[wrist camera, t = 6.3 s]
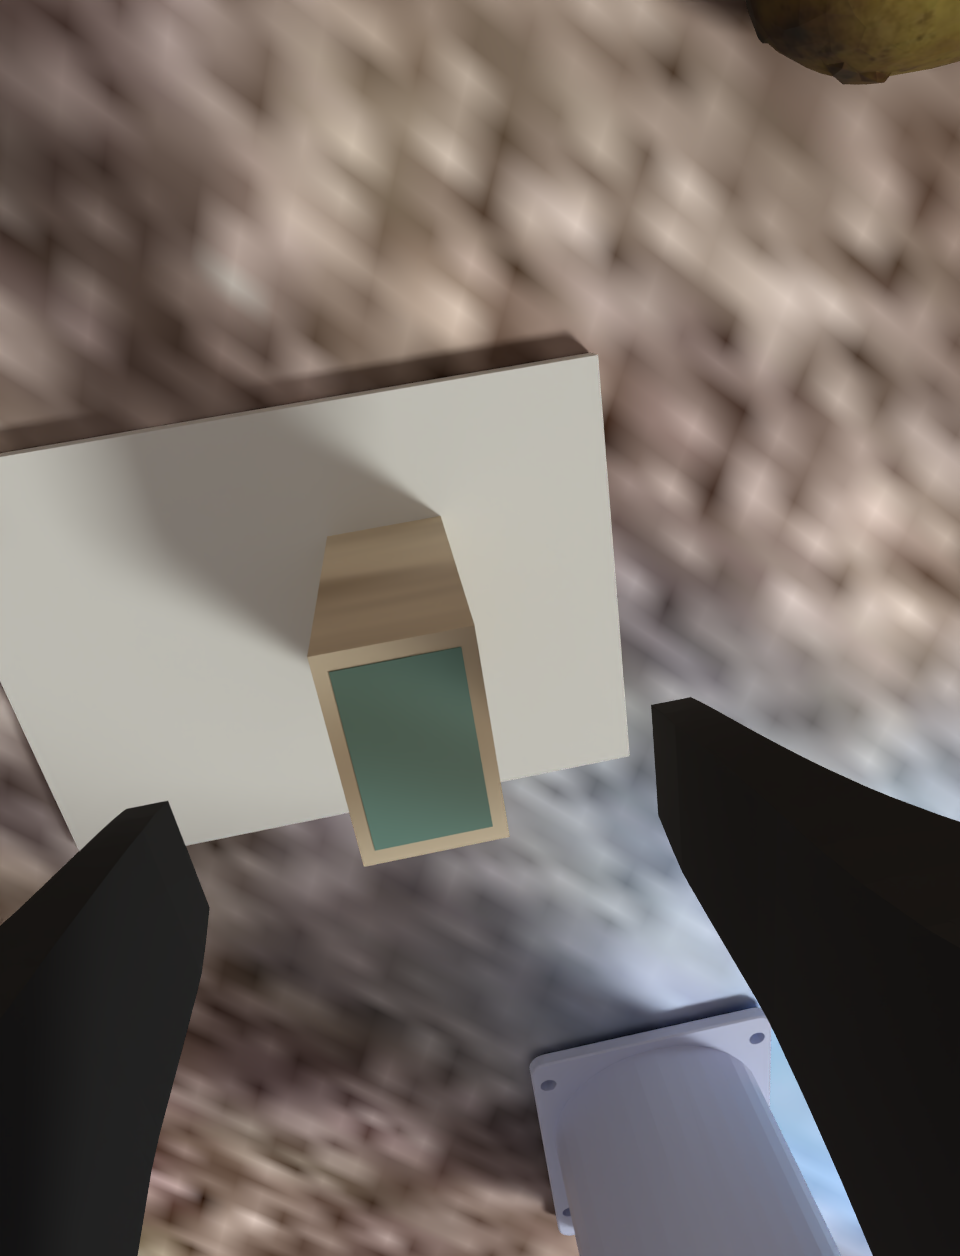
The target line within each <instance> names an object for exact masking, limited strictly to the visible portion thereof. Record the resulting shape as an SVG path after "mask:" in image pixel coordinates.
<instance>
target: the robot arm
mask: <svg viewBox="0 0 960 1256" xmlns="http://www.w3.org/2000/svg"><path fill="white" fill-rule="evenodd" d="M651 709H652V724H653V739H654V755H655V770H656V786H657V801H658V815H659V818H660V820H661V823H662V825H663V828H664V830H665V832H666V835H667V837H668V840H669V842H670V845H671V847H672V849H673V852H674V854H675V856H676V859H677V861H678V863H679V865H680V868H681V870H682V872H683V874H684V876H685V878H686V879H687V881H688V883H689V885H690V886H691V888H692V890H693V892H694V893H695V895H696V897H697V899H698V900H699V902H700V904H701V905H702V907H703V909H704V911H705V912H706V914H707V916H708V918H709V919H710V921H711V923H712V924H713V926H714V928H715V929H716V931H717V933H718V935H719V936H720V938H721V940H722V941H723V943H724V945H725V946H726V948H727V950H728V952H729V953H730V955H731V957H732V958H733V960H734V962H735V963H736V965H737V967H738V969H739V970H740V972H741V974H742V975H743V977H744V979H745V980H746V982H747V984H748V986H749V987H750V989H751V991H752V992H753V994H754V996H755V997H756V999H757V1001H758V1003H759V1005H760V1006H761V1008H762V1009H761V1008H749V1009H745V1010H740V1011H736V1012H731V1013H727V1014H722V1015H718V1016H714V1017H709V1018H705V1019H700V1020H696V1021H691V1022H687V1023H682V1024H678V1025H673V1026H669V1027H664V1028H660V1029H655V1030H651V1031H646V1032H642V1033H638V1034H633V1035H629V1036H624V1037H620V1038H615V1039H611V1040H606V1041H602V1042H597V1043H593V1044H588V1045H584V1046H579V1047H575V1048H570V1049H566V1050H561V1051H557V1052H553V1053H548V1054H544V1055H541V1056H538V1057H536V1058H535V1059H534V1060H533V1061H532V1062H531V1064H530V1068H529V1069H530V1074H531V1080H532V1086H533V1091H534V1097H535V1102H536V1108H537V1113H538V1119H539V1124H540V1130H541V1135H542V1141H543V1146H544V1152H545V1157H546V1163H547V1169H548V1174H549V1180H550V1185H551V1191H552V1196H553V1202H554V1207H555V1213H556V1218H557V1224H558V1229H559V1231H560V1232H561V1233H562V1234H564V1235H575V1237H576V1241H577V1246H578V1250H579V1255H580V1256H841V1254H840V1252H839V1250H838V1247H837V1245H836V1243H835V1241H834V1239H833V1237H832V1235H831V1233H830V1231H829V1229H828V1227H827V1225H826V1223H825V1221H824V1219H823V1217H822V1215H821V1213H820V1210H819V1208H818V1206H817V1204H816V1202H815V1200H814V1198H813V1196H812V1194H811V1192H810V1190H809V1188H808V1186H807V1184H806V1182H805V1180H804V1178H803V1176H802V1173H801V1171H800V1169H799V1167H798V1165H797V1163H796V1161H795V1159H794V1157H793V1155H792V1153H791V1151H790V1149H789V1147H788V1145H787V1143H786V1141H785V1139H784V1136H783V1134H782V1132H781V1130H780V1128H779V1126H778V1124H777V1122H776V1120H775V1118H774V1116H773V1114H772V1112H771V1110H770V1064H771V1027H772V1029H773V1031H774V1033H775V1035H776V1037H777V1039H778V1041H779V1044H780V1046H781V1048H782V1050H783V1052H784V1054H785V1057H786V1059H787V1061H788V1063H789V1065H790V1067H791V1070H792V1072H793V1074H794V1076H795V1078H796V1080H797V1082H798V1085H799V1087H800V1089H801V1091H802V1093H803V1095H804V1098H805V1100H806V1102H807V1104H808V1106H809V1109H810V1111H811V1113H812V1115H813V1118H814V1120H815V1122H816V1125H817V1127H818V1129H819V1131H820V1134H821V1136H822V1138H823V1140H824V1143H825V1145H826V1147H827V1149H828V1152H829V1154H830V1156H831V1158H832V1161H833V1163H834V1165H835V1167H836V1170H837V1172H838V1174H839V1176H840V1179H841V1181H842V1183H843V1186H844V1188H845V1190H846V1193H847V1195H848V1198H849V1200H850V1202H851V1205H852V1207H853V1209H854V1212H855V1214H856V1217H857V1219H858V1221H859V1224H860V1226H861V1228H862V1231H863V1233H864V1236H865V1238H866V1240H867V1243H868V1245H869V1247H870V1250H871V1252H872V1255H873V1256H960V822H959V821H956V820H953V819H950V818H947V817H944V816H941V815H938V814H935V813H933V812H930V811H927V810H925V809H922V808H919V807H917V806H914V805H911V804H908V803H906V802H903V801H900V800H898V799H895V798H892V797H890V796H887V795H885V794H883V793H880V792H878V791H875V790H873V789H870V788H868V787H866V786H863V785H861V784H859V783H857V782H855V781H852V780H850V779H848V778H846V777H844V776H841V775H839V774H837V773H835V772H833V771H830V770H828V769H826V768H824V767H822V766H820V765H818V764H816V763H814V762H812V761H810V760H808V759H806V758H804V757H802V756H800V755H798V754H796V753H794V752H792V751H790V750H788V749H786V748H784V747H782V746H780V745H778V744H777V743H775V742H773V741H771V740H769V739H767V738H765V737H764V736H762V735H760V734H758V733H756V732H754V731H752V730H751V729H749V728H747V727H745V726H743V725H742V724H740V723H738V722H736V721H734V720H733V719H731V718H729V717H727V716H725V715H724V714H722V713H720V712H718V711H716V710H715V709H713V708H711V707H709V706H707V705H705V704H703V703H701V702H700V701H697V700H695V699H693V698H691V697H690V698H685V699H680V700H675V701H669V702H664V703H659V704H654V705H651ZM208 916H209V905H208V903H207V900H206V897H205V895H204V892H203V890H202V887H201V885H200V882H199V879H198V877H197V874H196V872H195V869H194V866H193V864H192V861H191V859H190V856H189V853H188V851H187V848H186V846H185V843H184V841H183V838H182V835H181V833H180V830H179V828H178V825H177V822H176V820H175V817H174V815H173V812H172V809H171V807H170V804H169V802H168V801H163V802H158V803H153V804H148V805H143V806H138V807H133V808H128V809H125V810H124V811H123V812H121V813H120V814H119V815H118V816H117V817H115V818H114V819H113V820H112V821H111V822H110V823H109V824H107V825H106V826H105V827H104V828H103V829H102V830H101V831H100V832H99V833H98V834H97V835H96V836H95V837H94V838H92V839H91V840H90V841H89V842H88V843H87V844H86V845H85V846H84V847H83V848H82V849H81V850H80V851H79V852H78V853H77V854H76V855H75V856H74V857H73V858H72V859H71V860H70V861H69V862H68V863H67V864H66V865H64V866H63V867H62V868H61V869H60V870H59V871H58V872H57V873H56V874H55V875H54V876H53V877H52V878H51V879H50V880H49V881H48V882H47V883H46V884H45V885H44V886H43V887H42V888H40V889H39V890H38V891H37V892H36V893H35V894H34V895H33V896H32V897H31V898H30V899H29V900H28V901H27V902H26V903H25V904H24V905H23V906H22V907H21V908H20V909H18V910H17V911H16V912H15V913H14V914H13V915H12V916H11V917H10V918H9V919H7V920H6V921H5V922H4V923H3V924H2V925H1V926H0V1256H137V1255H138V1249H139V1243H140V1237H141V1231H142V1225H143V1218H144V1212H145V1206H146V1200H147V1194H148V1188H149V1182H150V1176H151V1170H152V1166H153V1161H154V1157H155V1152H156V1148H157V1143H158V1139H159V1134H160V1130H161V1127H162V1123H163V1119H164V1115H165V1112H166V1108H167V1104H168V1100H169V1097H170V1093H171V1089H172V1085H173V1082H174V1078H175V1074H176V1070H177V1067H178V1063H179V1059H180V1055H181V1052H182V1048H183V1044H184V1040H185V1037H186V1033H187V1029H188V1025H189V1021H190V1017H191V1013H192V1010H193V1006H194V1002H195V998H196V994H197V990H198V986H199V982H200V978H201V974H202V966H203V959H204V952H205V944H206V935H207V926H208Z"/></svg>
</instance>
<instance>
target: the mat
mask: <svg viewBox="0 0 960 1256" xmlns="http://www.w3.org/2000/svg"><path fill="white" fill-rule="evenodd" d="M438 516H441V519H442V522H443V525H444V528H445V531H446V535H447V538H448V541H449V544H450V548H451V551H452V554H453V557H454V561H455V564H456V567H457V570H458V573H459V577H460V580H461V583H462V586H463V590H464V593H465V596H466V599H467V602H468V606H469V609H470V612H471V615H472V619H473V622H474V625H475V631H476V637H477V643H478V649H479V655H480V661H481V667H482V673H483V679H484V685H485V691H486V697H487V703H488V709H489V715H490V721H491V727H492V733H493V740H494V746H495V752H496V758H497V764H498V770H499V776H500V782H504V781H509V780H513V779H518V778H523V777H528V776H533V775H538V774H543V773H548V772H553V771H558V770H563V769H568V768H573V767H578V766H583V765H588V764H593V763H598V762H603V761H607V760H612V759H617V758H622V757H627V756H630V755H629V743H628V730H627V717H626V705H625V692H624V679H623V667H622V654H621V641H620V628H619V616H618V603H617V590H616V578H615V565H614V552H613V540H612V527H611V514H610V502H609V489H608V476H607V463H606V451H605V438H604V425H603V413H602V400H601V387H600V375H599V362H598V355H597V354H593V353H585V354H579V355H573V356H568V357H562V358H556V359H550V360H544V361H538V362H532V363H527V364H521V365H515V366H509V367H503V368H497V369H491V370H485V371H480V372H474V373H468V374H462V375H456V376H450V377H444V378H439V379H433V380H427V381H421V382H415V383H409V384H403V385H398V386H392V387H386V388H380V389H374V390H368V391H362V392H356V393H351V394H345V395H339V396H333V397H327V398H321V399H315V400H310V401H304V402H298V403H292V404H286V405H280V406H274V407H269V408H263V409H257V410H251V411H245V412H239V413H233V414H227V415H222V416H216V417H210V418H204V419H198V420H192V421H186V422H181V423H175V424H169V425H163V426H157V427H151V428H145V429H140V430H134V431H128V432H122V433H116V434H110V435H104V436H99V437H93V438H87V439H81V440H75V441H69V442H63V443H57V444H52V445H46V446H40V447H34V448H28V449H22V450H16V451H11V452H5V453H0V682H1V684H2V686H3V689H4V691H5V693H6V695H7V697H8V699H9V701H10V704H11V706H12V708H13V710H14V712H15V714H16V717H17V719H18V721H19V723H20V725H21V727H22V729H23V732H24V734H25V736H26V738H27V740H28V742H29V744H30V747H31V749H32V751H33V753H34V755H35V757H36V759H37V762H38V764H39V766H40V768H41V770H42V772H43V774H44V777H45V779H46V781H47V783H48V785H49V787H50V790H51V792H52V794H53V796H54V798H55V800H56V802H57V805H58V807H59V809H60V811H61V813H62V815H63V817H64V820H65V822H66V824H67V826H68V828H69V830H70V832H71V835H72V837H73V839H74V841H75V843H76V845H77V847H78V850H79V851H80V850H81V849H82V848H83V847H84V846H85V845H86V844H87V843H88V842H89V841H90V840H91V839H92V838H94V837H95V836H96V835H97V834H98V833H99V832H100V831H101V830H102V829H103V828H104V827H105V826H106V825H107V824H109V823H110V822H111V821H112V820H113V819H114V818H115V817H117V816H118V815H119V814H120V813H121V812H123V811H124V810H125V809H128V808H133V807H138V806H143V805H148V804H153V803H158V802H163V801H168V802H169V804H170V807H171V809H172V812H173V815H174V817H175V820H176V822H177V825H178V828H179V830H180V833H181V835H182V838H183V841H184V843H185V846H187V845H192V844H197V843H202V842H207V841H212V840H217V839H222V838H226V837H231V836H236V835H241V834H246V833H251V832H256V831H261V830H266V829H271V828H276V827H281V826H286V825H291V824H296V823H301V822H306V821H311V820H316V819H320V818H325V817H330V816H335V815H340V814H345V813H349V810H348V806H347V802H346V799H345V795H344V791H343V787H342V784H341V780H340V776H339V773H338V769H337V765H336V762H335V758H334V754H333V751H332V747H331V743H330V740H329V736H328V732H327V728H326V725H325V721H324V717H323V714H322V710H321V706H320V703H319V699H318V695H317V692H316V688H315V684H314V681H313V677H312V673H311V669H310V666H309V662H308V658H307V655H308V649H309V643H310V637H311V631H312V625H313V619H314V613H315V607H316V601H317V595H318V589H319V583H320V577H321V571H322V565H323V558H324V552H325V546H326V540H327V536H333V535H338V534H344V533H349V532H355V531H360V530H366V529H371V528H377V527H382V526H388V525H393V524H399V523H404V522H410V521H415V520H421V519H426V518H432V517H438Z"/></svg>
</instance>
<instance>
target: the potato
mask: <svg viewBox="0 0 960 1256" xmlns="http://www.w3.org/2000/svg"><path fill="white" fill-rule="evenodd" d="M746 5H747V9H748V12H749V15H750V17H751V20H752V23H753V26H754V28H755V31H756V34H757V36H758V38H759V40H760V41H761V42H762V43H768V44H769V45H771V46H772V47H773V48H774V49H775V50H776V51H778V52H779V53H781V54H783V55H785V56H786V57H788V58H790V59H792V60H794V61H796V62H797V63H799V64H801V65H803V66H805V67H806V68H809V69H811V70H814V71H816V72H819V73H822V74H826V75H830V76H834V77H835V78H836V79H837V80H839V81H840V82H841V83H842V84H874V83H884V82H885V81H886V80H887V78H888V77H889V76H893V75H898V74H903V73H909V72H915V71H920V70H926V69H932V68H935V67H939V66H943V65H947V64H950V63H954V62H958V61H960V0H746Z"/></svg>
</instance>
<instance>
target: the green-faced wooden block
mask: <svg viewBox="0 0 960 1256" xmlns="http://www.w3.org/2000/svg"><path fill="white" fill-rule="evenodd" d="M307 658H308V662H309V666H310V669H311V673H312V677H313V681H314V684H315V688H316V692H317V695H318V699H319V703H320V706H321V710H322V714H323V717H324V721H325V725H326V728H327V732H328V736H329V740H330V743H331V747H332V751H333V754H334V758H335V762H336V765H337V769H338V773H339V776H340V780H341V784H342V787H343V791H344V795H345V799H346V802H347V806H348V810H349V813H350V817H351V821H352V824H353V828H354V832H355V835H356V839H357V843H358V846H359V850H360V854H361V858H362V861H363V865H364V867H366V866H371V865H375V864H380V863H385V862H390V861H395V860H400V859H405V858H409V857H414V856H419V855H424V854H429V853H434V852H438V851H443V850H448V849H453V848H458V847H463V846H467V845H472V844H477V843H482V842H487V841H492V840H497V839H501V838H506V837H510V836H509V830H508V824H507V818H506V812H505V806H504V800H503V794H502V788H501V782H500V776H499V770H498V764H497V758H496V752H495V746H494V740H493V733H492V727H491V721H490V715H489V709H488V703H487V697H486V691H485V685H484V679H483V673H482V667H481V661H480V655H479V649H478V643H477V637H476V631H475V625H474V622H473V619H472V615H471V612H470V609H469V606H468V602H467V599H466V596H465V593H464V590H463V586H462V583H461V580H460V577H459V573H458V570H457V567H456V564H455V561H454V557H453V554H452V551H451V548H450V544H449V541H448V538H447V535H446V531H445V528H444V525H443V522H442V519H441V516H438V517H432V518H426V519H421V520H415V521H410V522H404V523H399V524H393V525H388V526H382V527H377V528H371V529H366V530H360V531H355V532H349V533H344V534H338V535H333V536H327V540H326V546H325V552H324V558H323V565H322V571H321V577H320V583H319V589H318V595H317V601H316V607H315V613H314V619H313V625H312V631H311V637H310V643H309V649H308V655H307Z"/></svg>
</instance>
